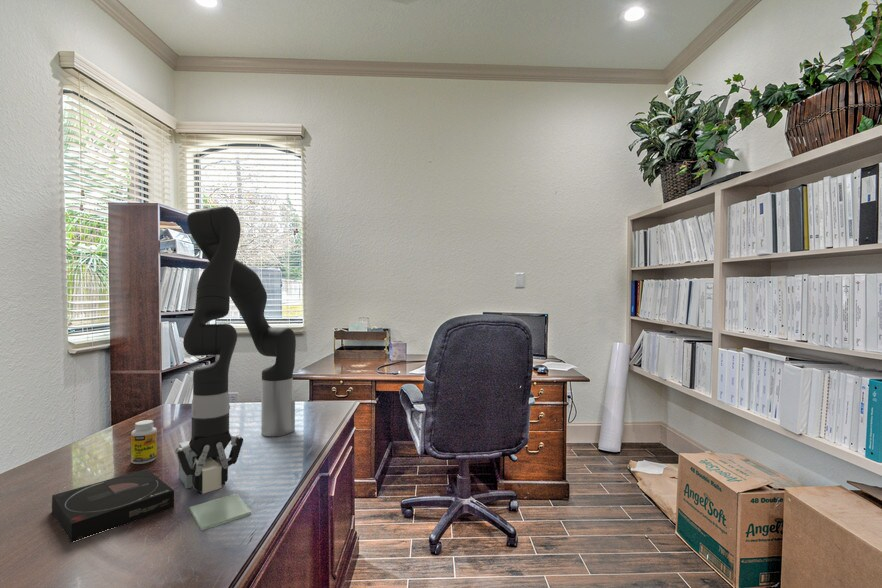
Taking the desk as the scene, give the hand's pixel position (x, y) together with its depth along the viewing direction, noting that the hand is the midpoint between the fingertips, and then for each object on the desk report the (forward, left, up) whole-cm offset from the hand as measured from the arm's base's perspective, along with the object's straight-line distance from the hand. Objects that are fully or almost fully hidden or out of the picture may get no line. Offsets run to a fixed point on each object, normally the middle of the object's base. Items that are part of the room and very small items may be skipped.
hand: (210, 486), depth 97 cm
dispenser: (0, -8, -1) cm, 8 cm away
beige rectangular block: (0, -4, -1) cm, 4 cm away
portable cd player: (+17, -3, -1) cm, 18 cm away
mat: (+1, +12, -1) cm, 12 cm away
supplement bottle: (+9, -29, -1) cm, 30 cm away
